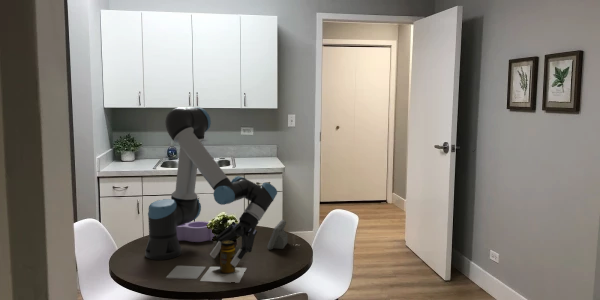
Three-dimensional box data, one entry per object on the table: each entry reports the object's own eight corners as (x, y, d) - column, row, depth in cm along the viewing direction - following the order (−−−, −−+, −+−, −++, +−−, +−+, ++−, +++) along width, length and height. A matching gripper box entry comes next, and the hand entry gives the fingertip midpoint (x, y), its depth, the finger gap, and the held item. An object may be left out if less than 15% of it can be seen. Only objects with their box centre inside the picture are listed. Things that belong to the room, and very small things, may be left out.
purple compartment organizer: (169, 242, 224) (169, 228, 224) (175, 234, 237) (175, 221, 236) (211, 242, 225) (211, 228, 224) (215, 234, 237) (215, 221, 236)
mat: (166, 278, 180) (166, 276, 180) (177, 266, 192) (177, 265, 192) (197, 279, 179) (197, 278, 179) (205, 267, 191) (205, 266, 191)
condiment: (239, 271, 187) (239, 242, 186) (222, 277, 181) (221, 246, 180) (229, 266, 192) (228, 238, 191) (211, 271, 186) (211, 242, 185)
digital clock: (276, 239, 230) (276, 218, 229) (293, 241, 226) (293, 220, 225) (261, 249, 215) (261, 226, 214) (278, 252, 212) (279, 228, 210)
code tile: (199, 282, 177) (199, 280, 177) (210, 267, 192) (210, 266, 192) (239, 283, 176) (239, 282, 176) (246, 269, 191) (246, 267, 191)
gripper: (276, 227, 187) (247, 273, 178) (237, 216, 205) (209, 257, 196) (266, 217, 183) (236, 263, 174) (227, 206, 200) (198, 248, 191)
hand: (222, 260), depth 185 cm, fingers open, 13 cm apart
